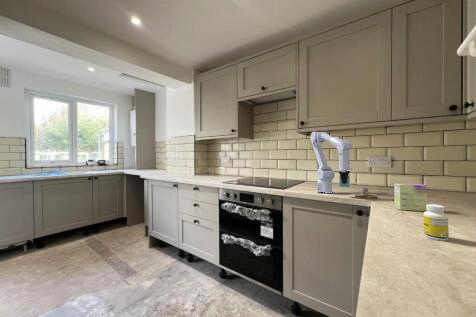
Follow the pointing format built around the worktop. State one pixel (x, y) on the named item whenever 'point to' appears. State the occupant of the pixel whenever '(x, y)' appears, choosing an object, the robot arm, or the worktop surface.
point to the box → (410, 196)
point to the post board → (365, 194)
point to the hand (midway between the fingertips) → (344, 183)
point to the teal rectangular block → (346, 183)
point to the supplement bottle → (436, 222)
